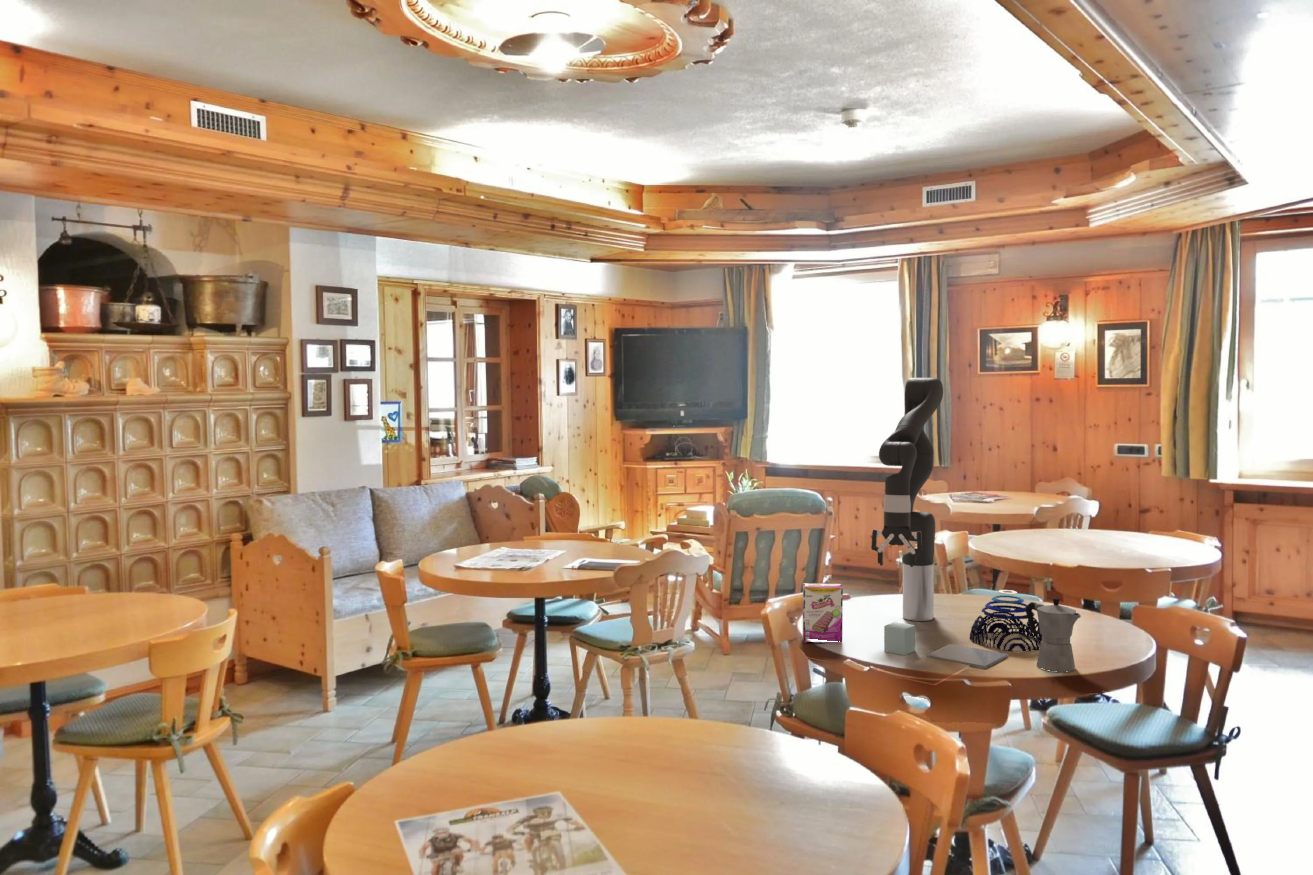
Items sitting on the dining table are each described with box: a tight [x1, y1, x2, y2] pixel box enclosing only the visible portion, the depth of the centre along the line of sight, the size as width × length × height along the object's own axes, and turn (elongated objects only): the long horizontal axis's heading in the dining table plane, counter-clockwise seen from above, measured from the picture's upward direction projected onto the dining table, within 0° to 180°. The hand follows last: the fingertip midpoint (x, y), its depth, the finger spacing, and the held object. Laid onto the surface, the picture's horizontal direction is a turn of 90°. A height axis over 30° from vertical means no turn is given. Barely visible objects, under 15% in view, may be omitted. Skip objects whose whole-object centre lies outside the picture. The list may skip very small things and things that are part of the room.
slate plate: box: [926, 643, 1008, 670], centre depth 251 cm, size 14×16×1 cm
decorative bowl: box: [969, 589, 1042, 653], centre depth 266 cm, size 20×20×14 cm
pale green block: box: [883, 621, 916, 656], centre depth 257 cm, size 6×6×7 cm
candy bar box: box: [802, 582, 844, 644], centre depth 269 cm, size 11×5×16 cm, turn 84°
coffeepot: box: [1025, 597, 1082, 673], centre depth 242 cm, size 15×9×18 cm, turn 33°
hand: (896, 566), depth 275 cm, fingers open, 8 cm apart
